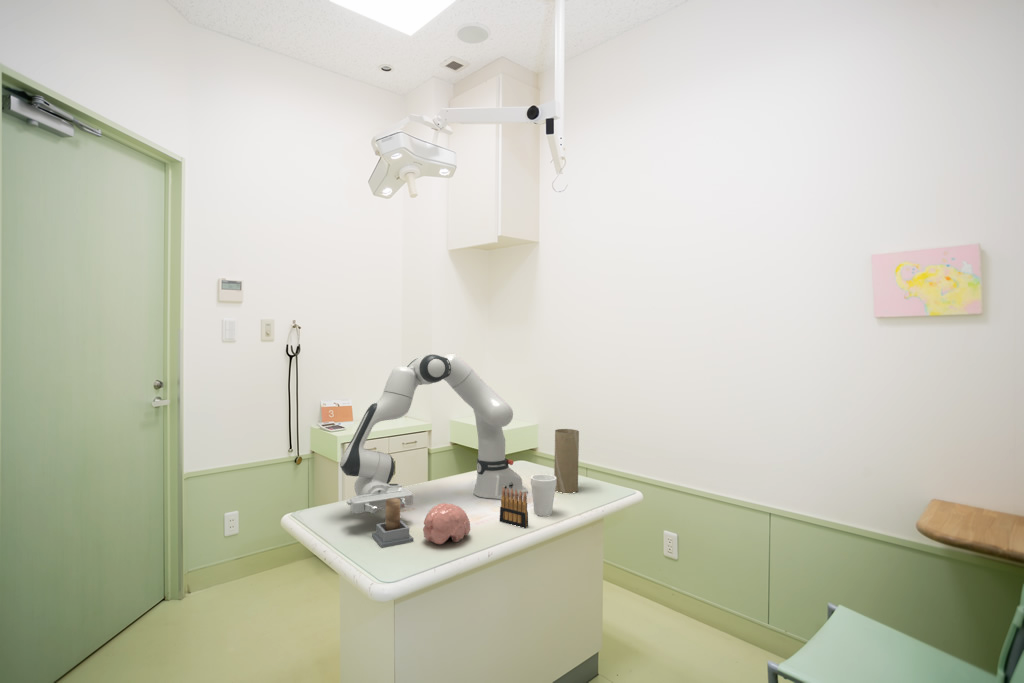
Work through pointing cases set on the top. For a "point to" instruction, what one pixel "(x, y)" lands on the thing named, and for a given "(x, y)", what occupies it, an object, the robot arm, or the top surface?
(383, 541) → the socket block
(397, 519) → the brown rounded peg
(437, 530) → the brain
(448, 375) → the robot arm
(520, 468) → the top surface
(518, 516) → the ammunition clip
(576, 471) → the tube
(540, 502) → the foam cup
